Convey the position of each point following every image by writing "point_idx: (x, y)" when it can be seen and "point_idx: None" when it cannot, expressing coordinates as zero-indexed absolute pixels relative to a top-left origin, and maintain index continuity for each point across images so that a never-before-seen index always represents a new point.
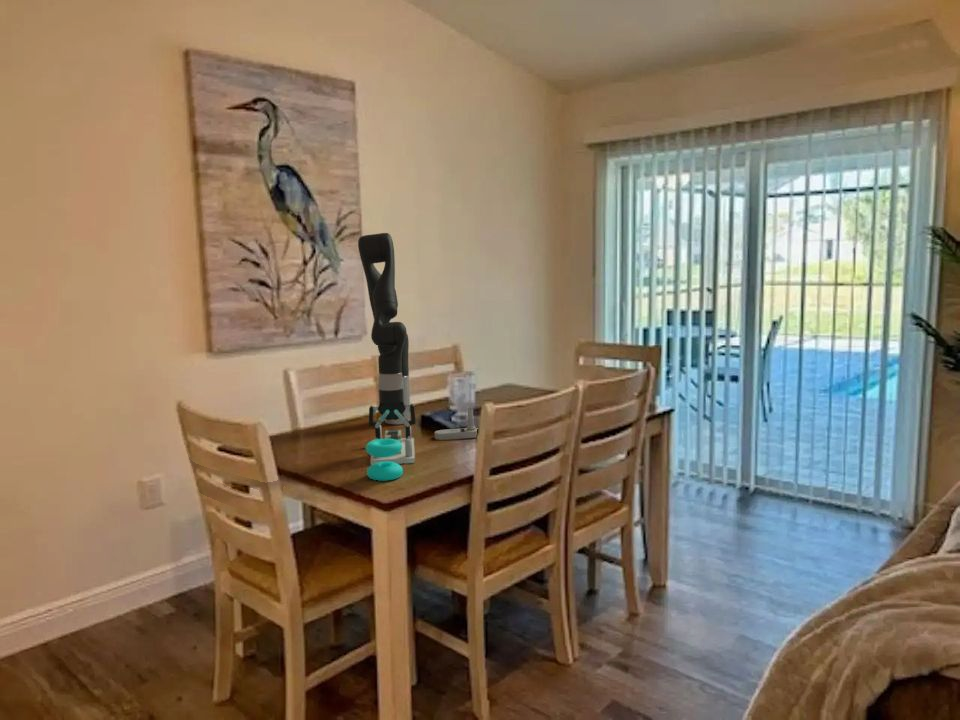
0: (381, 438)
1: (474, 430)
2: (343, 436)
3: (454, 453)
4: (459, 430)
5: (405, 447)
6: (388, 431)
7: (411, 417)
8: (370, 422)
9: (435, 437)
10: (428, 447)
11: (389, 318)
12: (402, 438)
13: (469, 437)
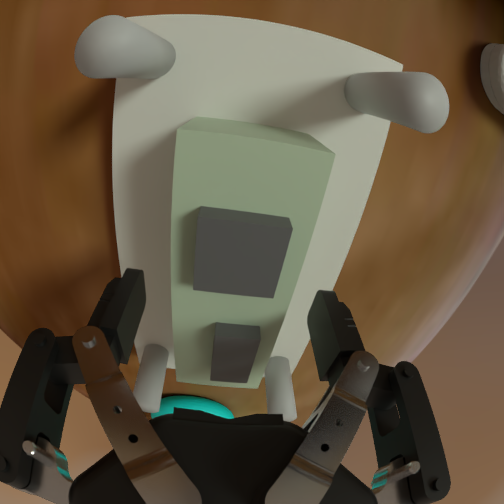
0: (166, 66)
1: None
2: None
3: (437, 302)
4: None
5: (266, 395)
6: (197, 270)
7: (375, 437)
8: (56, 390)
9: (485, 75)
10: (417, 199)
11: None
12: (332, 43)
13: None
